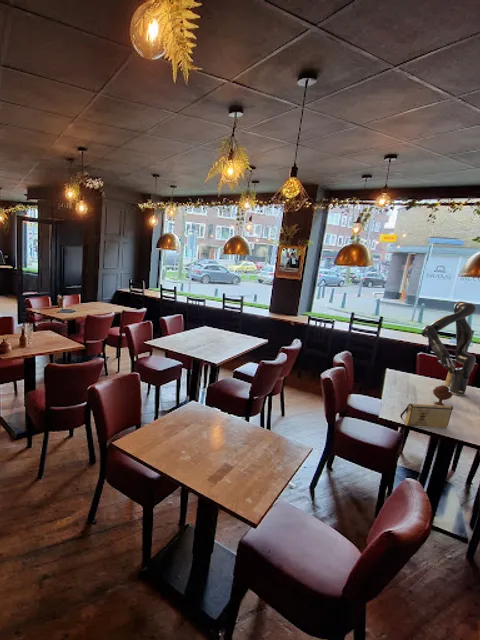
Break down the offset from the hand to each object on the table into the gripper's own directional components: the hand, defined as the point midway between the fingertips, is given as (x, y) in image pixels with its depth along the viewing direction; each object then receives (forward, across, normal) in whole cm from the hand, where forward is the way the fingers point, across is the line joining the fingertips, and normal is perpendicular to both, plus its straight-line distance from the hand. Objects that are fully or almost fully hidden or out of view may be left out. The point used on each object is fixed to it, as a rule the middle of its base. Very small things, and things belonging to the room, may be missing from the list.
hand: (454, 373), depth 237 cm
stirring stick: (+6, 0, +8) cm, 10 cm away
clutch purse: (+31, -46, +5) cm, 56 cm away
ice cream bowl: (+16, 0, +21) cm, 26 cm away
